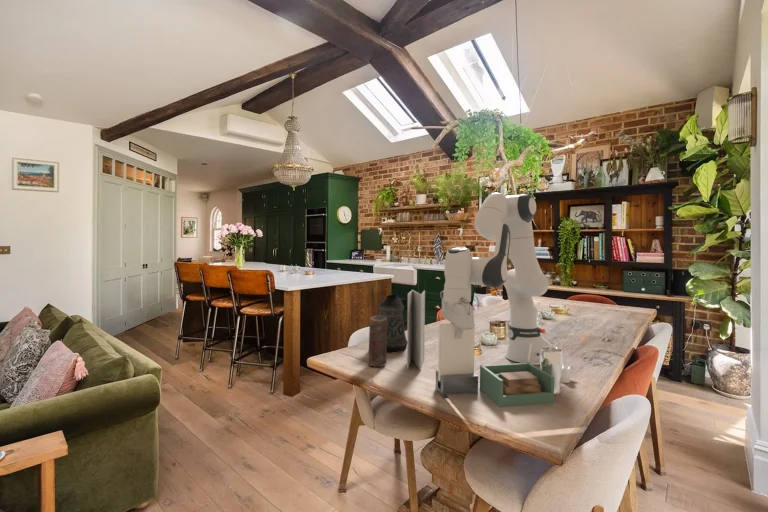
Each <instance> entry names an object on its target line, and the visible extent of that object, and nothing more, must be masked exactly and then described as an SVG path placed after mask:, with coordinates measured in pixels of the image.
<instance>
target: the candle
mask: <svg viewBox="0 0 768 512" xmlns="http://www.w3.org/2000/svg"><path fill="white" fill-rule="evenodd" d="M368 329H369V330H368V332H369V333H368V334H369V335H368V336H369V337H368V358H367V359H368V360H367V361H368V365H369V366H371V367H375V368H378V367H383V366H384V365H386V364H387V353H386V352H387V317H385V316H382V315H380V316H379V315H372V316H371V317H370V318H369V328H368Z"/></svg>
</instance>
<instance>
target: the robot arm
mask: <svg viewBox="0 0 768 512" xmlns="http://www.w3.org/2000/svg"><path fill="white" fill-rule="evenodd" d="M536 213H537V203H536V199H535V198H534V196H533V195H532V194H530V193H529V194H527V193H521V194H515V195H513V194H512V195H504V194H503V193H500V192H492V193H490V194H488V195H487V197H486V198H485V199H484V201H483V202H482V204H481V205H480V207H479V209H478V211H477V214H476V216H475V219H474V229H475V230H476V232H477V233H478V234H479V235H480V236H481V237H482V238H483V239H486V240H489V241H492V242H494V243H495V247H494V253H493V255H491V256H489V257H488V256H487V257H481V256H479V257H478V256H477V257H475V256H472V255H471V251H470V248H467V247H463V246H459V247H457V246H456V247H451V248H449V249H448V250H447V251H446V254H445V259H444V271H443V272H444V278H445V282H444V284H443V287H444V288H443V290H442V291H440V299H441V316H442V317H443V319H445V320H446V321H448V322H450V324H455V325H456V328H457V331H456V332H455V337H456V338H457V339H461V338H462V332H463V330H471V329H473V327H474V324H475V319H474V314H475V313H474V307H473V306H472V305H471V303H472V302H471V301H472V285H474V286H475V285H476V286H485V287H490V288H494V289H495V288H496V289H497V288H499V287H500V286H502V285H503V286H504V288H505V290H506V293H507V299H508V304H509V325H508V344H507V349H506V354H505V358H506V359H507V360H510V361H513V362H516V363H530V364H532V365H534V366H538V365H539V366H540V353H541V347H545V346H550V347H554V345H553V344H552V343H550V342H549V340H547V339H545V338H544V337H543V336H542V335H541V334H544V335H545V333H546V329H545V328H542V327H541V328H540V327H538V309H537V306H536V305H535V302H534V300H533V297H541V296H543V295H544V294H546V292H547V291H548V289H549V285H550V284H549V279H548V278H547V276H546V275H545V274H544V273H543V270H542V268H541V265H540V264H539V261H538V258H537V254H536V248H535V246H536V245H535V239H534V238H535V237H534V236H535V235H534V230H533V224H532V219H533V218H534V217H535V216H536ZM509 260H510V262H511V264H512V265H513V266H512V267H513V268H512V269H511V268H510V269H509V270H508V268H509V267H508V263H509ZM470 302H471V303H470Z"/></svg>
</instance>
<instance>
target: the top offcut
mask: <svg viewBox="0 0 768 512" xmlns="http://www.w3.org/2000/svg"><path fill="white" fill-rule="evenodd" d="M499 378H501V379H502V380H503V384H505V385H506V386H507V387H522V386H537V385H538V377H536V376H534V375H533V374H531V373H530V372H528V371H524V372H507V373H499Z"/></svg>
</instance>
